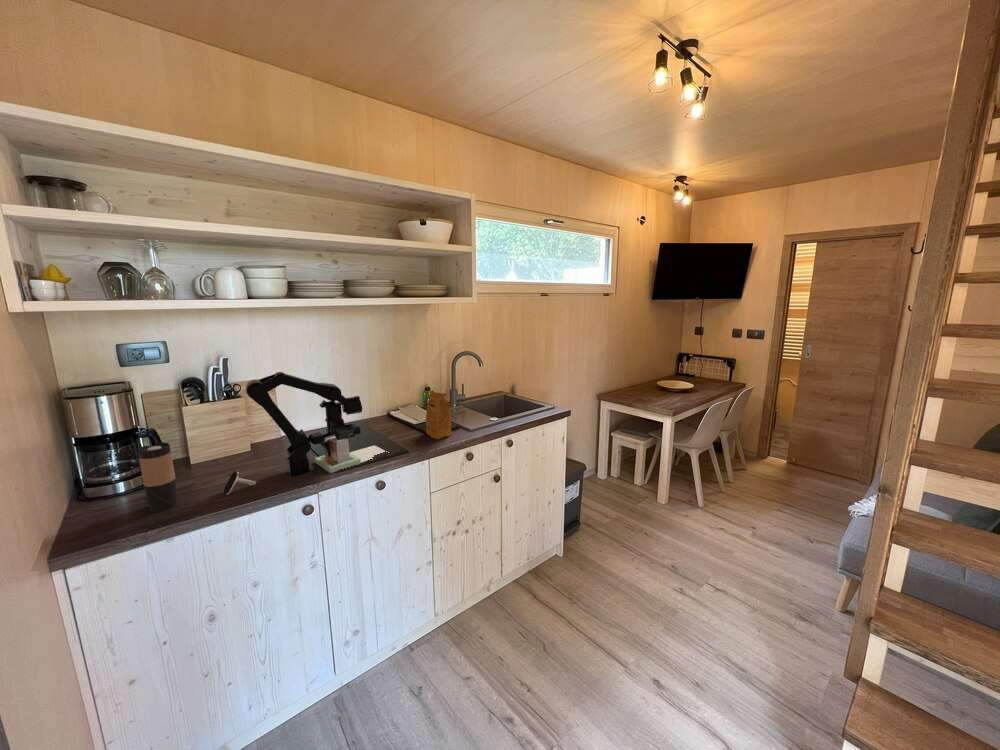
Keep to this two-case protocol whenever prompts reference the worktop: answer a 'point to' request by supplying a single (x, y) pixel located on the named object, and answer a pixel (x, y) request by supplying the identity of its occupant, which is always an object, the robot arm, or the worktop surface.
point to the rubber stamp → (233, 480)
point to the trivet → (367, 453)
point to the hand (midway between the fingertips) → (337, 454)
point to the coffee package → (438, 416)
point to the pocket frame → (334, 468)
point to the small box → (337, 451)
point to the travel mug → (158, 476)
